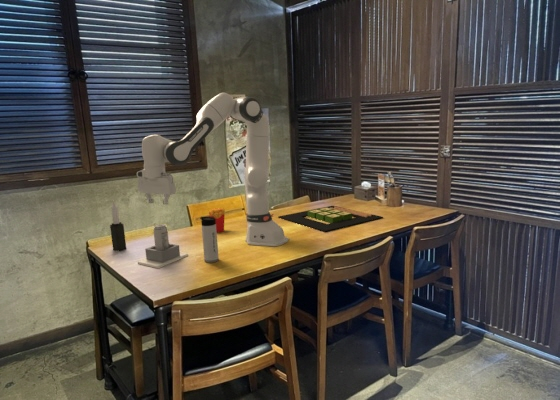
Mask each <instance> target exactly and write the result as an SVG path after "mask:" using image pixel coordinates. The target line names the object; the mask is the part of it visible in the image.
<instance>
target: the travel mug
mask: <svg viewBox="0 0 560 400" xmlns="http://www.w3.org/2000/svg"><path fill="white" fill-rule="evenodd" d="M200 221H201V234H202V244H203V245H202V247H203V257H204V262H205V263H208V264H211V263H212V264H213V263H216V262H219V259H220V258H219V248H218V232H217V231H216V219H215V218H214V217H209V216H200Z"/></svg>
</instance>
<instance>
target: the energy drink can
mask: <svg viewBox="0 0 560 400" xmlns="http://www.w3.org/2000/svg"><path fill="white" fill-rule="evenodd" d="M153 239H154V246H155V249H156V250H160V251H162V250H165V249H168V248H169V244H170V242H169V231H168V227H167V226H166V224H164V223H163V224H160V223H159V224H156V225H154V228H153Z"/></svg>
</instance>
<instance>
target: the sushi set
mask: <svg viewBox="0 0 560 400" xmlns="http://www.w3.org/2000/svg"><path fill="white" fill-rule="evenodd" d="M306 216H308V217H306ZM310 217H311V218H310ZM277 218H278V219H280V218H281V219H280V220H283V219H284V221H287V222H290V223H294V224H296V223H297V225H299V224H300V226H303V225H304V227H306V226H307V227H306V228H309V227H310V229H312V228H313V230H315V231H319V232H322V233H329V232H333V231H338V230H342V229H345V228H350V227H353V226H357V225H361V224H365V223H370V222H374V221H379V220H381V219H384V216H381V215H377V214H372V213H367V212H364V211H363V212H362V211H358V210H354V209H349V208H345V207H340V206H336V205H329V206H324V207H318V208H314V209H308V210H304V211H299V212H295V213H290V214H288V213H287V214H284V215H278V217H277ZM313 218H316V219H315V220H314V219H313ZM317 219H318V220H317ZM321 220H322V221H321Z"/></svg>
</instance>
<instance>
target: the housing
mask: <svg viewBox="0 0 560 400" xmlns="http://www.w3.org/2000/svg"><path fill="white" fill-rule="evenodd" d="M144 250H145V258H144V259H141V260H138V261H137V264H138V265H142V266H146V267H151V268H154V269H160V268H162V267H165V266H167V265H170V264H172V263H174V262H176V261H178V260H181V259H183V258H186V257H188V256H189V253H188V252H183V251H181V250H180V245H179V244H174V243H169V248H168V249H165V250H162V251H160V250H156V249H155V245H151V246H149V247H146V248H145V249H144Z"/></svg>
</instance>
